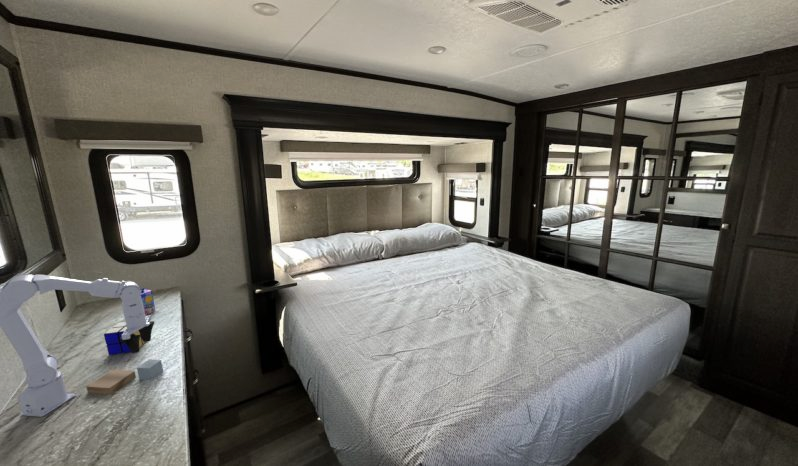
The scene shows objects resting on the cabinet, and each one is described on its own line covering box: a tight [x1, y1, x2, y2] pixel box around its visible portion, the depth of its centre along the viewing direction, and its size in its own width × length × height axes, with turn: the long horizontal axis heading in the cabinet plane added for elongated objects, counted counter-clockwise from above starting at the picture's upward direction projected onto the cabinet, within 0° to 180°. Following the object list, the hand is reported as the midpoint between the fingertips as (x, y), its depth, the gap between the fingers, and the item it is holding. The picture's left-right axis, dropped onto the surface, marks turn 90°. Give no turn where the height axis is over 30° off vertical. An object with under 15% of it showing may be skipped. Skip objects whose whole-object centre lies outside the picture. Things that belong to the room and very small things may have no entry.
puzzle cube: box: [103, 321, 146, 356], centre depth 132 cm, size 10×10×10 cm
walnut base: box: [86, 369, 136, 396], centre depth 109 cm, size 9×9×3 cm
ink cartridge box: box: [140, 287, 156, 316], centre depth 162 cm, size 10×6×14 cm, turn 163°
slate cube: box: [136, 358, 164, 381], centre depth 114 cm, size 5×5×5 cm
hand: (141, 346), depth 116 cm, fingers open, 7 cm apart
